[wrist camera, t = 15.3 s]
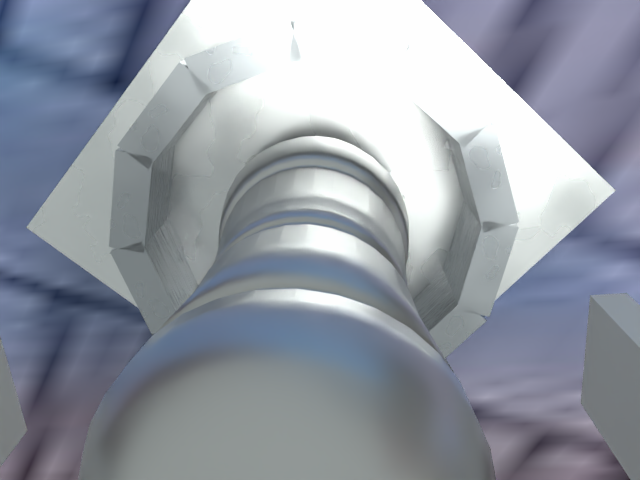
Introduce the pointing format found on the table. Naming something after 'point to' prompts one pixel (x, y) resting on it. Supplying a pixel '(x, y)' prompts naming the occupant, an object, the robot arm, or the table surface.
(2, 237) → the table surface
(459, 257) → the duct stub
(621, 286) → the table surface
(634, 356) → the robot arm
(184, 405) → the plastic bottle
